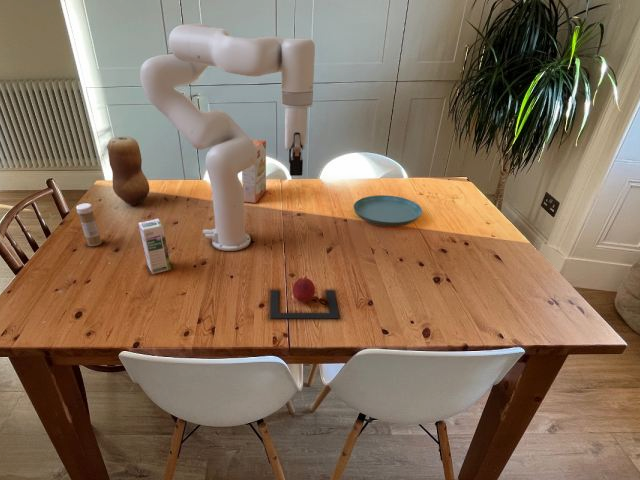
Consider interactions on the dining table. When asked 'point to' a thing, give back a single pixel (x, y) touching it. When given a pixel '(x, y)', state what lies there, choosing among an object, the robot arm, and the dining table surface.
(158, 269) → the syrup box
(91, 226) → the sprinkles bottle
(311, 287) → the onion
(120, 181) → the butternut squash
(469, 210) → the dining table surface
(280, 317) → the bay
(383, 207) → the saucer
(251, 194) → the cracker box
